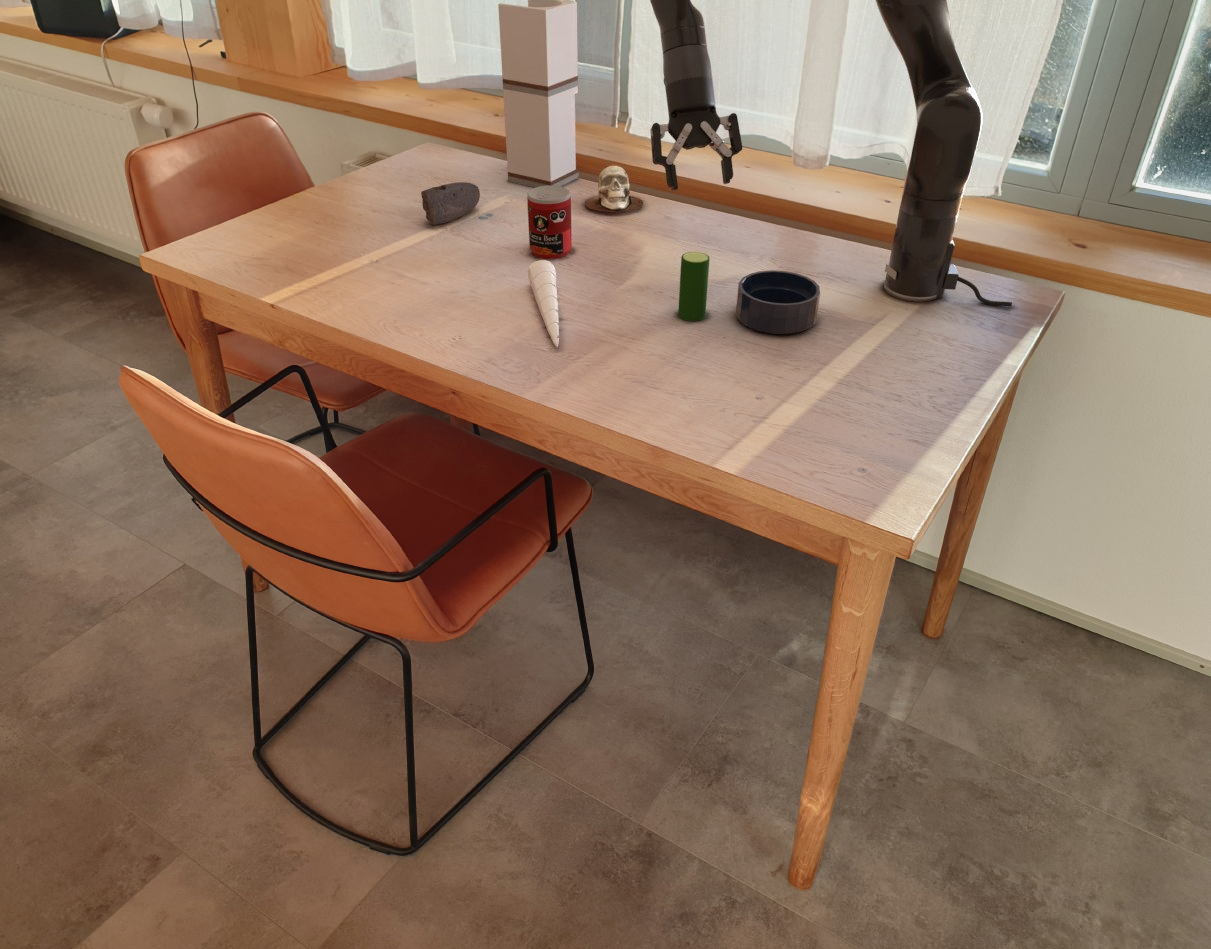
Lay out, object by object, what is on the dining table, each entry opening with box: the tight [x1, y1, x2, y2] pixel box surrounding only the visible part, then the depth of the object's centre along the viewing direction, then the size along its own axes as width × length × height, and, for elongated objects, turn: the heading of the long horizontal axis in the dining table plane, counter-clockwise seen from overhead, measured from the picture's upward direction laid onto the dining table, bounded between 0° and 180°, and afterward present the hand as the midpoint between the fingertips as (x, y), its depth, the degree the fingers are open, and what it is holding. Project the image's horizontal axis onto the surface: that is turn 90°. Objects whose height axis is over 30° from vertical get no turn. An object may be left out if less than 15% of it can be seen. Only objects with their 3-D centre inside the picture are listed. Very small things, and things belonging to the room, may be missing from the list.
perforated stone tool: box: [420, 181, 481, 226], centre depth 184 cm, size 15×5×7 cm, turn 139°
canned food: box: [526, 186, 573, 260], centre depth 170 cm, size 8×8×11 cm
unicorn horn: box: [527, 259, 560, 348], centre depth 150 cm, size 5×24×5 cm, turn 5°
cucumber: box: [677, 251, 710, 322], centre depth 149 cm, size 4×4×10 cm
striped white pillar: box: [497, 0, 580, 188], centre depth 195 cm, size 11×11×35 cm
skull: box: [584, 165, 644, 213], centre depth 191 cm, size 12×10×10 cm
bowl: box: [735, 269, 822, 335], centre depth 150 cm, size 13×13×6 cm
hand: (701, 186), depth 150 cm, fingers open, 8 cm apart
